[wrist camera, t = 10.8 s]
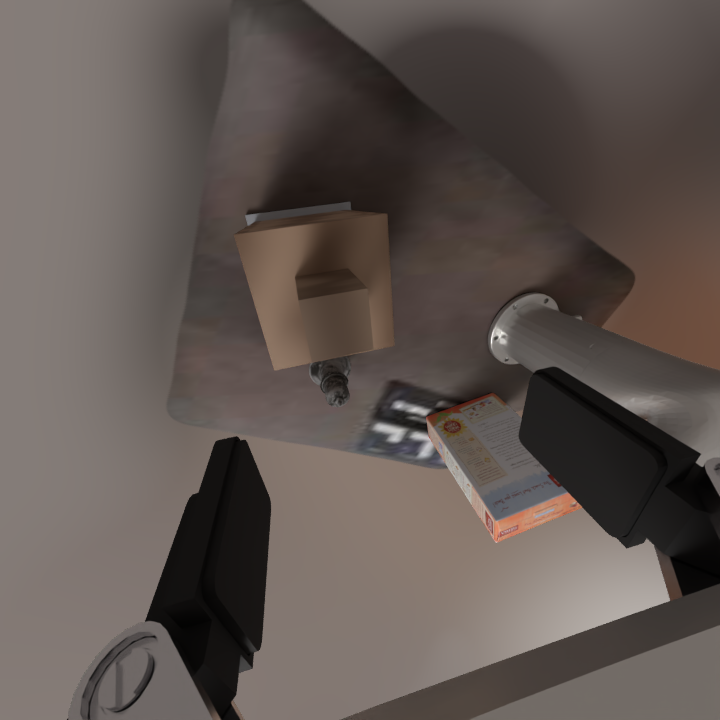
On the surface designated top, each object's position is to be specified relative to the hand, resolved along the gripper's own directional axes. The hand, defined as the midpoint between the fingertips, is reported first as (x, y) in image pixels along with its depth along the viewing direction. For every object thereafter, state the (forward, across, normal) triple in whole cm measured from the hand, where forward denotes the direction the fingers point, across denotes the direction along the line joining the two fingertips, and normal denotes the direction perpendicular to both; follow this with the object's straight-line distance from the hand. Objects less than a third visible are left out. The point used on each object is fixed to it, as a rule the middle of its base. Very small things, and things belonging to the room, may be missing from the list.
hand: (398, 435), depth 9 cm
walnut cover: (+31, +1, 0) cm, 31 cm away
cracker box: (+33, -22, +31) cm, 50 cm away
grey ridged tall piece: (+32, +1, +13) cm, 35 cm away
